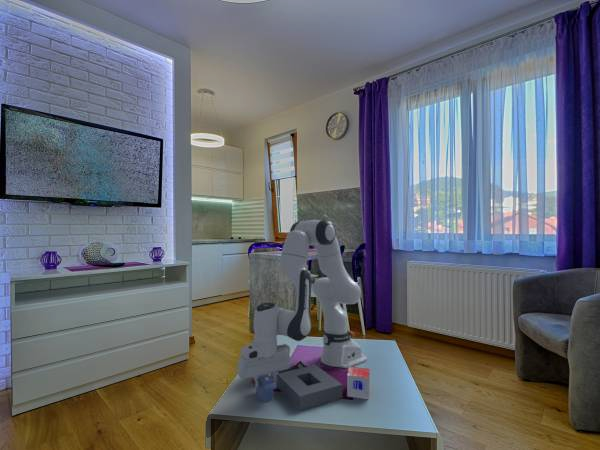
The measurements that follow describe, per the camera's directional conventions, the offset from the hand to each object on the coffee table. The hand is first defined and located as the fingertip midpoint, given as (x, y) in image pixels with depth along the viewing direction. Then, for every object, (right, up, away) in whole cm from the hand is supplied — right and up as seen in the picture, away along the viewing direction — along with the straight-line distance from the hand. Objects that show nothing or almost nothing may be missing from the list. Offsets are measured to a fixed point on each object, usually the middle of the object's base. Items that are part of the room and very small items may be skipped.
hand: (264, 385), depth 116 cm
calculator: (+10, -5, +19) cm, 22 cm away
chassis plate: (+16, -4, +3) cm, 17 cm away
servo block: (0, -4, 0) cm, 4 cm away
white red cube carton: (+36, -5, +3) cm, 36 cm away
